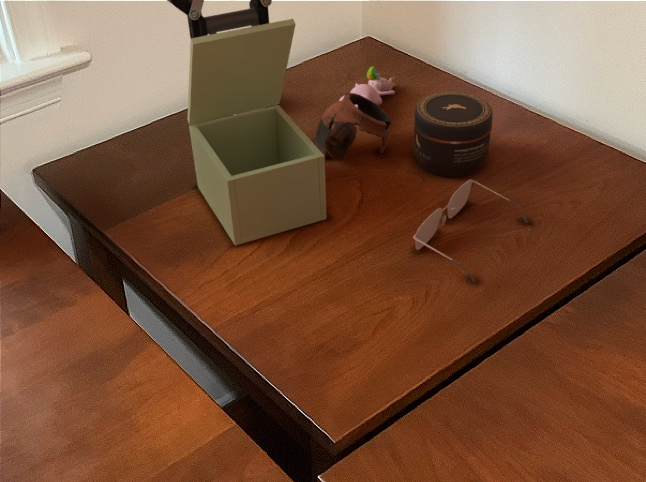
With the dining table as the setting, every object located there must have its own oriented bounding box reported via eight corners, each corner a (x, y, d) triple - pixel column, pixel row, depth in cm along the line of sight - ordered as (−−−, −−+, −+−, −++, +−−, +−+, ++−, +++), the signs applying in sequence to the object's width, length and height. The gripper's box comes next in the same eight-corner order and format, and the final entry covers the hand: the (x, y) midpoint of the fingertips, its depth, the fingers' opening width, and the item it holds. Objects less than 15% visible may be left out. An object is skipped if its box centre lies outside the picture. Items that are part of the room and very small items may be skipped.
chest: (326, 219, 98) (324, 155, 92) (235, 245, 94) (227, 181, 88) (282, 165, 107) (278, 104, 102) (197, 187, 103) (188, 125, 98)
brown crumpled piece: (318, 130, 115) (346, 81, 112) (374, 167, 115) (405, 119, 112) (292, 153, 105) (323, 100, 101) (354, 194, 105) (387, 142, 101)
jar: (398, 150, 110) (400, 99, 105) (462, 134, 113) (467, 83, 109) (435, 187, 103) (439, 134, 98) (502, 169, 106) (509, 116, 101)
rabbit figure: (366, 91, 127) (324, 119, 114) (369, 52, 124) (326, 78, 112) (404, 98, 125) (365, 128, 112) (407, 59, 122) (368, 86, 110)
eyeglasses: (468, 199, 101) (474, 173, 98) (527, 225, 98) (534, 198, 95) (409, 257, 92) (413, 230, 89) (472, 288, 89) (478, 260, 86)
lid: (295, 23, 89) (278, -11, 90) (193, 44, 85) (177, 8, 86) (279, 104, 101) (265, 72, 103) (189, 125, 97) (175, 92, 99)
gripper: (280, -146, 87) (289, 18, 98) (117, -127, 81) (147, 45, 92) (308, -131, 82) (314, 41, 93) (136, -109, 76) (165, 71, 87)
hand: (231, 41), depth 92 cm, fingers closed on lid, 6 cm apart
